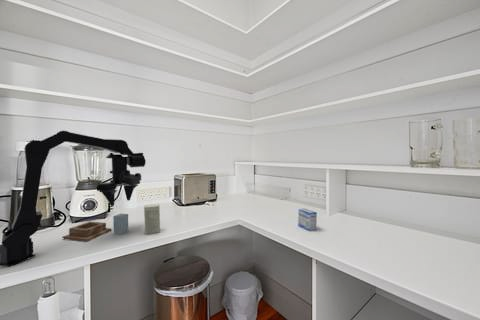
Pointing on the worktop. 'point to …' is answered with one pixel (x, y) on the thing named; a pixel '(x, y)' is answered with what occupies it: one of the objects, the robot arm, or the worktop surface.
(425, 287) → the worktop surface
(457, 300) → the worktop surface
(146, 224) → the skincare box
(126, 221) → the slate peg
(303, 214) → the medicine box
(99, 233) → the walnut socket
